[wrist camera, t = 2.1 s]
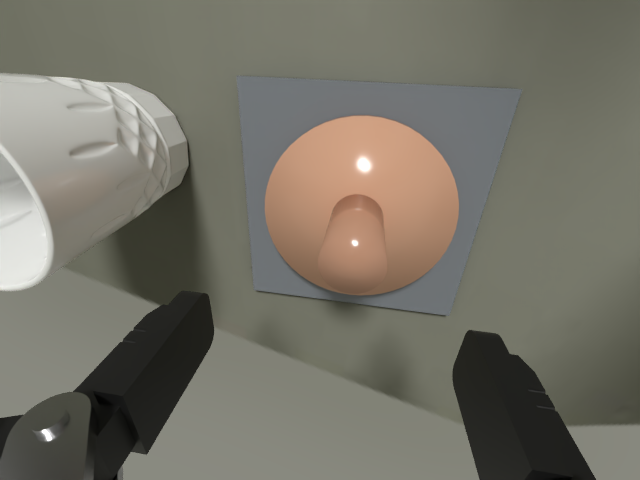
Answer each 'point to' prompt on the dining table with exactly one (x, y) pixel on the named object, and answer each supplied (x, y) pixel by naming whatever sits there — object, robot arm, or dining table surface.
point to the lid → (361, 205)
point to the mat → (390, 102)
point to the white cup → (77, 168)
